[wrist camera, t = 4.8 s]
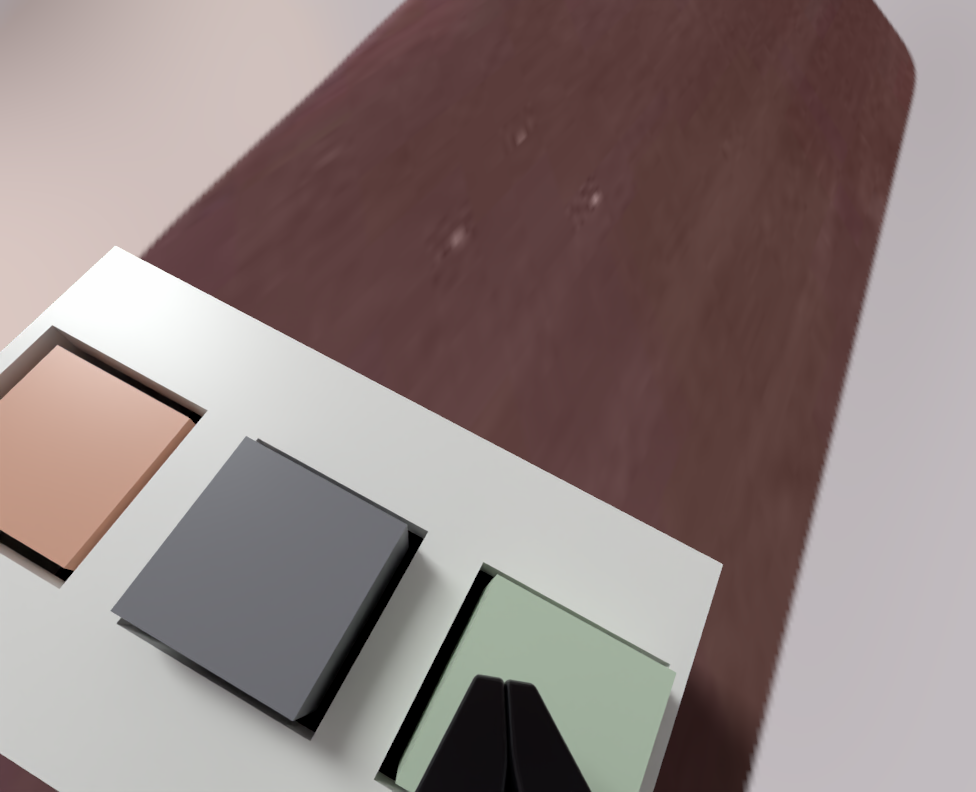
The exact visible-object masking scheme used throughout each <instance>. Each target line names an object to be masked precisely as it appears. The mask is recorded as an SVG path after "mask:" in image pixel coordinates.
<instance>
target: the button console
mask: <svg viewBox="0 0 976 792" xmlns="http://www.w3.org/2000/svg"><path fill="white" fill-rule="evenodd" d="M57 345H58V346H60V347H62V348H64V349H65V350H67V351H69V352H71V353H73V354H75V355H76V356H78V357H80V358H82V359H84V360H85V361H87V362H89V363H91V364H93V365H94V366H96V367H98V368H100V369H102V370H103V371H105V372H107V373H109V374H111V375H113V376H114V377H116V378H118V379H120V380H122V381H123V382H125V383H127V384H129V385H131V386H132V387H134V388H136V389H138V390H140V391H141V392H143V393H145V394H147V395H149V396H150V397H152V398H154V399H156V400H158V401H160V402H161V403H163V404H165V405H167V406H169V407H170V408H172V409H174V410H176V411H178V412H179V413H181V414H183V415H185V416H187V417H188V416H189V415H190V414H191V413H192V411H193V412H195V413H196V414H198V415H200V416H202V418H201V419H200V420H199V422H198V423H197V424H196V425H195V426H194V428H193V429H192V430H191V431H190V432H189V434H188V435H187V436H186V437H185V438H184V440H183V441H182V442H181V443H180V444H179V446H178V447H177V448H176V449H175V450H174V452H173V453H172V454H171V455H170V457H169V458H168V459H167V460H166V461H165V463H164V464H163V465H162V466H161V467H160V469H159V470H158V471H157V472H156V473H155V475H154V476H153V477H152V478H151V479H150V481H149V482H148V483H147V484H146V485H145V487H144V488H143V489H142V490H141V491H140V493H139V494H138V495H137V496H136V497H135V499H134V500H133V501H132V502H131V503H130V505H129V506H128V507H127V508H126V510H125V511H124V512H123V513H122V514H121V516H120V517H119V518H118V519H117V520H116V522H115V523H114V524H113V525H112V526H111V528H110V529H109V530H108V531H107V532H106V534H105V535H104V536H103V537H102V538H101V540H100V541H99V542H98V543H97V544H96V546H95V547H94V548H93V549H92V550H91V552H90V553H89V554H88V555H87V556H86V558H85V559H84V560H83V561H82V563H81V564H80V565H79V566H78V567H77V569H76V570H75V571H74V572H73V573H72V575H71V576H70V577H69V578H68V579H67V581H66V582H65V581H63V580H62V579H60V578H58V577H57V576H55V574H56V573H57V571H58V570H59V569H60V568H61V566H60V565H58V564H56V563H55V562H53V561H51V560H50V559H48V558H46V557H45V556H43V555H41V554H40V553H38V552H36V551H35V550H33V549H31V548H30V547H28V546H26V545H25V544H23V543H21V542H20V541H18V540H16V539H15V538H13V537H11V536H10V535H8V534H6V533H5V532H3V531H1V530H0V753H1V754H2V755H4V756H5V757H7V758H8V759H10V760H11V761H13V762H15V763H16V764H18V765H19V766H21V767H22V768H24V769H25V770H27V771H28V772H30V773H31V774H33V775H35V776H36V777H38V778H39V779H41V780H42V781H44V782H45V783H47V784H48V785H50V786H51V787H53V788H54V789H56V790H58V791H59V792H409V791H407V790H406V789H404V788H402V787H401V786H399V785H397V784H396V783H395V782H396V781H394V780H393V779H391V778H389V777H388V776H386V775H384V774H383V773H381V772H379V771H378V770H379V768H380V766H381V764H382V762H383V760H384V758H385V756H386V754H387V752H388V750H389V748H390V746H391V744H392V742H393V740H394V738H395V736H396V734H397V732H398V730H399V728H400V726H401V724H402V722H403V721H404V719H405V717H406V715H407V713H408V711H409V709H410V707H411V705H412V703H413V701H414V699H415V697H416V695H417V693H418V691H419V689H420V687H421V685H422V683H423V681H424V679H425V677H426V675H427V673H428V671H429V669H430V667H431V665H432V663H433V661H434V659H435V657H436V655H437V653H438V651H439V649H440V647H441V645H442V643H443V641H444V639H445V637H446V635H447V633H448V631H449V629H450V627H451V625H452V623H453V621H454V619H455V617H456V615H457V613H458V611H459V609H460V607H461V605H462V603H463V601H464V599H465V597H466V595H467V593H468V591H469V589H470V587H471V585H472V583H473V581H474V579H475V577H476V575H477V573H478V572H479V570H481V571H483V572H485V573H487V574H489V575H490V576H492V577H495V576H496V575H497V574H498V575H500V576H502V577H503V578H505V579H507V580H509V581H511V582H513V583H514V584H516V585H518V586H520V587H522V588H523V589H525V590H527V591H529V592H531V593H533V594H534V595H536V596H538V597H540V598H542V599H543V600H545V601H547V602H549V603H551V604H553V605H554V606H556V607H558V608H560V609H562V610H563V611H565V612H567V613H569V614H571V615H573V616H574V617H576V618H578V619H580V620H582V621H583V622H585V623H587V624H589V625H591V626H593V627H594V628H596V629H598V630H600V631H602V632H603V633H605V634H607V635H609V636H611V637H613V638H614V639H616V640H618V641H620V642H622V643H623V644H625V645H627V646H629V647H631V648H633V649H634V650H636V651H638V652H640V653H642V654H643V655H645V656H647V657H649V658H651V659H653V660H654V661H656V662H658V663H660V664H662V665H663V666H665V667H667V668H669V669H671V670H673V671H674V672H676V676H675V679H674V682H673V685H672V689H671V692H670V695H669V698H668V701H667V704H666V708H665V711H664V714H663V717H662V720H661V723H660V726H659V730H658V733H657V736H656V739H655V742H654V745H653V748H652V752H651V755H650V758H649V761H648V764H647V767H646V771H645V774H644V777H643V780H642V783H641V786H640V789H639V792H653V790H654V787H655V784H656V780H657V777H658V774H659V771H660V767H661V764H662V761H663V758H664V754H665V751H666V748H667V745H668V741H669V738H670V735H671V732H672V728H673V725H674V722H675V719H676V715H677V712H678V709H679V706H680V702H681V699H682V696H683V693H684V689H685V686H686V683H687V680H688V676H689V673H690V670H691V667H692V663H693V660H694V657H695V654H696V650H697V647H698V644H699V641H700V637H701V634H702V631H703V628H704V624H705V621H706V618H707V615H708V611H709V608H710V605H711V602H712V598H713V595H714V592H715V589H716V585H717V582H718V579H719V576H720V572H721V569H722V566H723V564H721V563H719V562H717V561H716V560H714V559H712V558H710V557H708V556H706V555H704V554H702V553H700V552H698V551H696V550H695V549H693V548H691V547H689V546H687V545H685V544H683V543H681V542H679V541H677V540H676V539H674V538H672V537H670V536H668V535H666V534H664V533H662V532H660V531H658V530H656V529H655V528H653V527H651V526H649V525H647V524H645V523H643V522H641V521H639V520H637V519H635V518H634V517H632V516H630V515H628V514H626V513H624V512H622V511H620V510H618V509H616V508H614V507H613V506H611V505H609V504H607V503H605V502H603V501H601V500H599V499H597V498H595V497H594V496H592V495H590V494H588V493H586V492H584V491H582V490H580V489H578V488H576V487H574V486H573V485H571V484H569V483H567V482H565V481H563V480H561V479H559V478H557V477H555V476H553V475H552V474H550V473H548V472H546V471H544V470H542V469H540V468H538V467H536V466H534V465H532V464H531V463H529V462H527V461H525V460H523V459H521V458H519V457H517V456H515V455H513V454H512V453H510V452H508V451H506V450H504V449H502V448H500V447H498V446H496V445H494V444H492V443H491V442H489V441H487V440H485V439H483V438H481V437H479V436H477V435H475V434H473V433H471V432H470V431H468V430H466V429H464V428H462V427H460V426H458V425H456V424H454V423H452V422H450V421H449V420H447V419H445V418H443V417H441V416H439V415H437V414H435V413H433V412H431V411H429V410H428V409H426V408H424V407H422V406H420V405H418V404H416V403H414V402H412V401H410V400H409V399H407V398H405V397H403V396H401V395H399V394H397V393H395V392H393V391H391V390H389V389H388V388H386V387H384V386H382V385H380V384H378V383H376V382H374V381H372V380H370V379H368V378H367V377H365V376H363V375H361V374H359V373H357V372H355V371H353V370H351V369H349V368H347V367H346V366H344V365H342V364H340V363H338V362H336V361H334V360H332V359H330V358H328V357H327V356H325V355H323V354H321V353H319V352H317V351H315V350H313V349H311V348H309V347H307V346H306V345H304V344H302V343H300V342H298V341H296V340H294V339H292V338H290V337H288V336H286V335H285V334H283V333H281V332H279V331H277V330H275V329H273V328H271V327H269V326H267V325H265V324H264V323H262V322H260V321H258V320H256V319H254V318H252V317H250V316H248V315H246V314H245V313H243V312H241V311H239V310H237V309H235V308H233V307H231V306H229V305H227V304H225V303H224V302H222V301H220V300H218V299H216V298H214V297H212V296H210V295H208V294H206V293H204V292H203V291H201V290H199V289H197V288H195V287H193V286H191V285H189V284H187V283H185V282H183V281H182V280H180V279H178V278H176V277H174V276H172V275H170V274H168V273H166V272H164V271H163V270H161V269H159V268H157V267H155V266H153V265H151V264H149V263H147V262H145V261H143V260H142V259H140V258H138V257H136V256H134V255H132V254H130V253H128V252H126V251H124V250H122V249H121V248H119V247H117V246H115V247H113V248H112V249H111V250H110V251H109V252H108V253H107V254H106V255H105V256H104V257H103V258H102V259H101V260H99V261H98V262H97V263H96V264H95V265H94V266H93V267H92V268H91V269H90V270H89V271H88V272H86V273H85V274H84V275H83V276H82V277H81V278H80V279H79V280H78V281H77V282H76V283H75V284H73V286H71V287H70V288H69V289H68V290H67V291H66V292H65V293H64V294H63V295H62V296H61V297H59V298H58V299H57V300H56V301H55V302H54V303H53V304H52V305H51V306H50V307H49V308H47V309H46V310H45V311H44V312H43V313H42V314H41V315H40V316H39V317H38V318H37V319H36V320H35V321H33V322H32V323H31V324H30V325H29V326H28V327H27V328H26V329H25V330H24V331H23V332H22V333H20V334H19V335H18V336H17V337H16V338H15V339H14V340H13V341H12V342H11V343H10V344H9V345H7V346H6V347H5V348H4V349H3V350H2V351H1V352H0V400H1V399H2V398H3V397H4V396H5V395H6V394H7V393H8V392H9V391H10V390H11V389H12V388H13V387H14V386H15V385H16V384H17V383H19V382H20V381H21V380H22V379H23V378H24V377H25V376H26V375H27V374H28V373H29V372H30V371H31V370H32V369H33V368H34V367H35V366H36V365H37V364H38V363H39V362H40V361H41V360H42V359H43V358H44V357H45V356H46V355H47V354H48V353H49V352H51V351H52V350H53V349H54V348H55V347H56V346H57ZM246 436H247V437H249V438H251V439H253V440H254V441H256V442H258V443H260V444H262V445H264V446H265V447H267V448H269V449H271V450H273V451H274V452H276V453H278V454H280V455H282V456H284V457H285V458H287V459H289V460H291V461H293V462H294V463H296V464H298V465H300V466H302V467H304V468H305V469H307V470H309V471H311V472H313V473H314V474H316V475H318V476H320V477H322V478H324V479H325V480H327V481H329V482H331V483H333V484H334V485H336V486H338V487H340V488H342V489H344V490H345V491H347V492H349V493H351V494H353V495H354V496H356V497H358V498H360V499H362V500H364V501H365V502H367V503H369V504H371V505H373V506H374V507H376V508H378V509H380V510H382V511H384V512H385V513H387V514H389V515H391V516H393V517H394V518H396V519H398V520H400V521H402V522H404V523H405V524H407V525H408V530H409V531H410V532H412V533H414V534H416V535H418V536H420V537H421V538H423V539H424V540H423V542H422V543H421V545H420V547H419V549H418V551H417V552H416V554H415V556H414V558H413V559H412V561H411V563H410V565H409V567H408V568H407V570H406V572H405V574H404V575H403V577H402V579H401V581H400V583H399V584H398V586H397V588H396V590H395V591H394V593H393V595H392V597H391V599H390V600H389V602H388V604H387V606H386V607H385V609H384V611H383V613H382V615H381V616H380V618H379V620H378V622H377V623H376V625H375V627H374V629H373V631H372V632H371V634H370V636H369V638H368V639H367V641H366V643H365V645H364V647H363V648H362V650H361V652H360V654H359V656H358V657H357V659H356V661H355V663H354V664H353V666H352V668H351V670H350V672H349V673H348V675H347V677H346V679H345V680H344V682H343V684H342V686H341V688H340V689H339V691H338V693H337V695H336V696H335V698H334V700H333V702H332V704H331V705H330V707H329V709H328V711H327V712H326V714H325V716H324V718H323V720H322V721H321V723H320V725H319V727H318V728H317V730H316V732H313V731H312V730H310V729H308V728H307V727H305V726H303V725H302V724H300V723H298V722H297V721H292V720H290V719H288V718H287V717H285V716H283V715H282V714H280V713H278V712H277V711H275V710H273V709H272V708H270V707H268V706H267V705H265V704H263V703H262V702H260V701H258V700H257V699H255V698H253V697H252V696H250V695H249V694H247V693H245V692H244V691H242V690H240V689H239V688H237V687H235V686H234V685H232V684H230V683H229V682H227V681H225V680H224V679H222V678H220V677H219V676H217V675H215V674H214V673H212V672H210V671H209V670H207V669H206V668H204V667H202V666H201V665H199V664H197V663H196V662H194V661H192V660H191V659H189V658H187V657H186V656H184V655H182V654H181V653H179V652H177V651H176V650H174V649H172V648H171V647H169V646H167V645H166V644H164V643H163V642H161V641H159V640H158V639H156V638H154V637H153V636H151V635H149V634H148V633H146V632H144V631H143V630H141V629H139V628H138V627H136V626H134V625H133V624H131V623H129V622H128V621H126V620H124V619H123V618H121V617H119V616H118V615H116V614H115V613H113V612H111V609H112V608H113V607H114V605H115V604H116V603H117V602H118V600H119V599H120V598H121V596H122V595H123V594H124V593H125V591H126V590H127V589H128V587H129V586H130V585H131V584H132V582H133V581H134V580H135V578H136V577H137V576H138V575H139V573H140V572H141V571H142V569H143V568H144V567H145V566H146V564H147V563H148V562H149V560H150V559H151V558H152V556H153V555H154V554H155V553H156V551H157V550H158V549H159V547H160V546H161V545H162V544H163V542H164V541H165V540H166V538H167V537H168V536H169V535H170V533H171V532H172V531H173V529H174V528H175V527H176V526H177V524H178V523H179V522H180V520H181V519H182V518H183V517H184V515H185V514H186V513H187V511H188V510H189V509H190V508H191V506H192V505H193V504H194V502H195V501H196V500H197V499H198V497H199V496H200V495H201V493H202V492H203V491H204V489H205V488H206V487H207V486H208V484H209V483H210V482H211V480H212V479H213V478H214V477H215V475H216V474H217V473H218V471H219V470H220V469H221V468H222V466H223V465H224V464H225V462H226V461H227V460H228V459H229V457H230V456H231V455H232V453H233V452H234V451H235V450H236V448H237V447H238V446H239V444H240V443H241V442H242V441H243V439H244V438H245V437H246Z"/></svg>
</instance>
